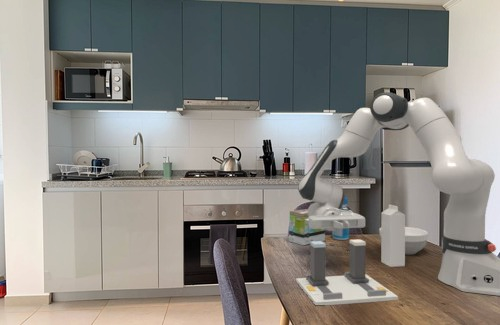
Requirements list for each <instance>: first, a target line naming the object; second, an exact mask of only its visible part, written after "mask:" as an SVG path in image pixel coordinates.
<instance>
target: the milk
mask: <svg viewBox="0 0 500 325" xmlns="http://www.w3.org/2000/svg"><path fill="white" fill-rule="evenodd" d="M380 216H381V217H380V218H381V223H380V224H381V227H380V228H381V238H380V240H381V241H380V242H381V243H380V246H381V249H380V252H381V256H380V257H381V258H380V259H381V260H380V261H381V263H382V264H384V265H386V266H387V267H389V268H393V267H395V268H396V267H405V266H406V255H405V227H406V214H405V213H403V212H401V211H400V210H399V206H398V205H393V204H388V208H386V209H385V210H383V211H382V212H381V214H380Z"/></svg>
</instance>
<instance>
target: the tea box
mask: <svg viewBox="0 0 500 325" xmlns="http://www.w3.org/2000/svg"><path fill="white" fill-rule="evenodd" d="M308 218H309V216H308V208H305V209H297V210H290V211H289V224H288V225H289V226H288V228H289V231H288V232H289V234H288V235H289V236H288V242H290V243H293V244H297V245H301V246H306V245H310V241H322V242H325V241H326V230H325V229H312V228H311V227H310V226H309V223H308V222H305V219H308Z"/></svg>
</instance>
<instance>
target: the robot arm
mask: <svg viewBox="0 0 500 325" xmlns="http://www.w3.org/2000/svg"><path fill="white" fill-rule="evenodd" d="M369 106H370V108H369V107H360V108H359V109H357V110H356V111H355V113H354V114H353V115H352V117H351V118H350V120H349V121H348V123H347V125H346V126H345V129H344V131H343V133H342V134H341V135H340V136H339V137H338V138H337V139H333V140H331V141H330V142H329V143H328V144H327V145H326V146H325V147H324V149H323V150H322V152H321V153H320V154H319V155H318V157H317V158H316V160H315V162H314V163H313V164H312V166H311V168H310V169H309V170H308V171H307V173H306V174H305V175H304V176H303V177H302V179H301V181H300V182H299V184H298V193H299V195H300V196H301V198H302V199H304V200H307V201H312V202H313V203H311V204H310V205H309V206H308V208H307V209H308V216H309V218H308V219H305V222H308V223H309V226H310V227H311V228H312V229H325V231H328V232H332V231H335V230H338V229H349V230H350V229H360V228H362V229H363V228H365V227H366V218H365V216H363V215H361V214H359V213H357V212H356V213H355V212H353V210H351V209H349V210H345V209H341V208H342V206H343V203H344V200H345V198H346V195H345V192H344V189H343V187H342V186H341V185H338V184H336V183H333V182H330V181H328V180H326V179H323V178H321V176H322V175H323V173H324V172H325V170H326V169H327V168H328V166H329V164H330V163H331V162H332V161H333V160H335V159H337V158H338V159H339V158H357V157H360V156H362V155H364V154H365V153H366V152H367V151H368V149H369V148H370V146H371V143H372V141H373V140H374V137H375V135H376V133H377V132H378V131H379V130H380V129H381V130H385V131H387V130H388V131H402V130H406V129H407V128H408V127H410V128H411V129H412V131H413V133H414V134H415V136H416V138H417V139H418V141H419V142H420V145H421V146H422V148H423V149H424V151H425V153H426V155H427V157H428V160H429V162H430V165H431V166H430V167H431V169H432V174H431V180H432V181H431V182H432V184H433V186H434V187H435V188H436V189H437V190H438V191H439V192H440V193H441V192H442V193H443V194H447V195H450V196H449V200H448V202H447V206H446V207H445V209H444V211H443V234H442V235H441V236H442V237H441V252H442V258H441V265H440V270H439V273H438V275H437V279H438V280H439V281H440V282H442V283H444V284H446V285H448V286H452V287H453V288H455V289H457V290H459V291H462V292H465V293H474V294H481V295H483V294H484V295H492V296H498V297H500V257H499V256H498V255H496V254H495V253H494V252H495V251H496V250H497V246H496V245H495V244H493V243H492V242H491V241H490V240H488V239H486V214H487V212H486V211H487V207H488V204H489V198H490V193H491V188H492V185H493V183H494V181H495V176H496V174H495V172H494V169H493V168H492V167H491V165H489V164H488V163H486V162H484V161H482V160H479V159H470V158H468V155H466V152H465V149H464V147H463V144H462V137H461V135H460V134H459V132H458V130H457V129H456V127H455V126H454V124H453V123H452V122H451V120H450V119H449V117H448V116H447V115H446V113H445V112H444V111H443V109H442V108H441V107H440V106H439V104H437V103H436V102H435V101H434V100H432V99H431V98H429V97H419V98H417V99H415V100H413V101H408V99H407V98H405V97H403V96H400V95H399V94H396V93H393V92H390V91H389V92H387V91H384V92H381V93H378V94H377V95H376V96H374V97H373V98H372V100H371V102H370V105H369Z"/></svg>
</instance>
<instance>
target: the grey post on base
mask: <svg viewBox="0 0 500 325" xmlns="http://www.w3.org/2000/svg"><path fill="white" fill-rule="evenodd" d="M366 244H367V242H366V241H364V240H363V239H349V272H350V275H346V277H347V278H348V279H349V280H351V281H352V282H353V283H362V282H369V279H368V278H366V277H365V274H366V246H367V245H366Z"/></svg>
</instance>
